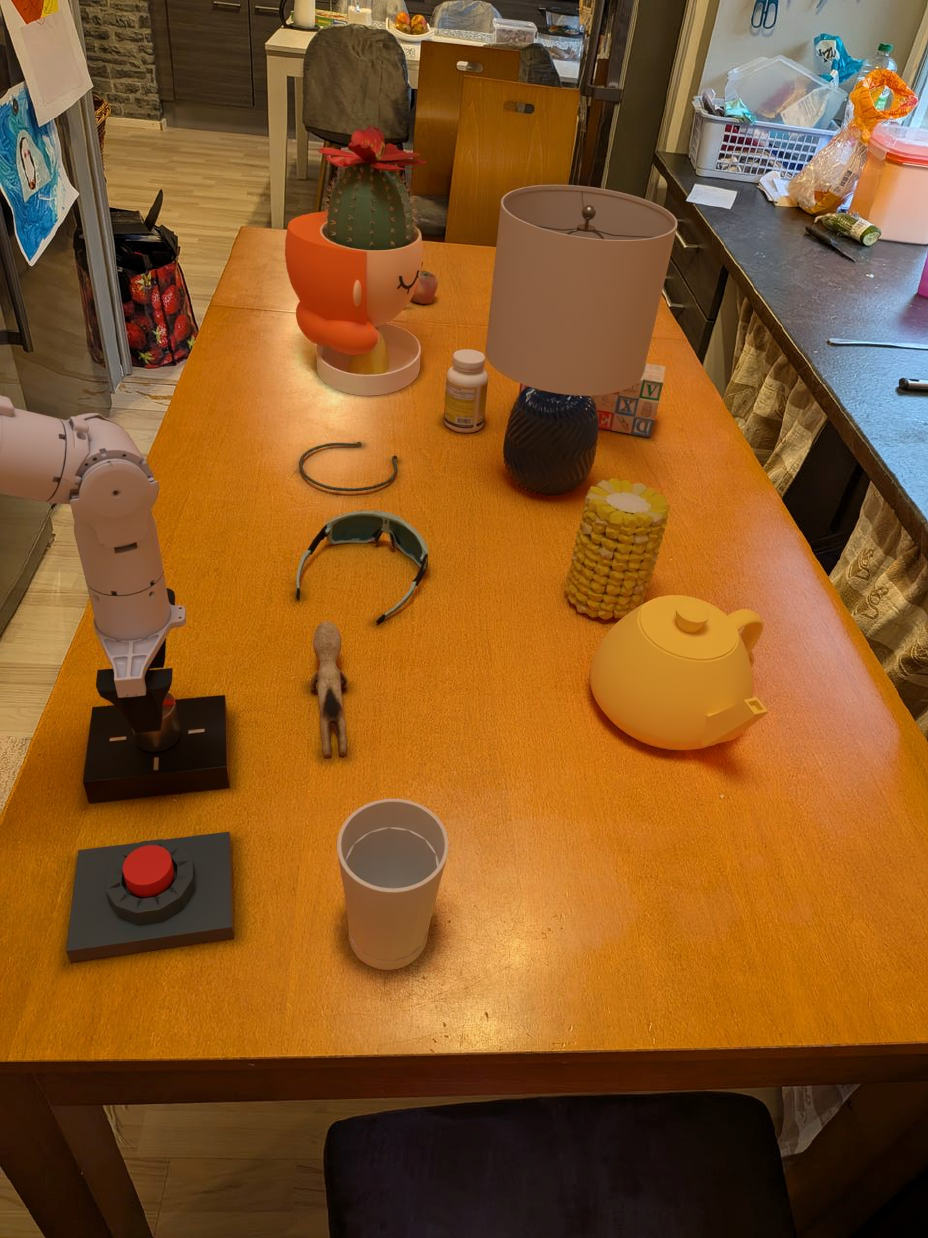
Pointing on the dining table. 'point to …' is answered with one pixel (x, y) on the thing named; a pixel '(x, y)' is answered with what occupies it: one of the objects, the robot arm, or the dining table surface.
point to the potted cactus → (359, 270)
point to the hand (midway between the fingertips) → (150, 696)
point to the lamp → (571, 318)
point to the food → (616, 548)
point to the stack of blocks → (631, 404)
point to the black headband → (344, 488)
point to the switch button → (148, 871)
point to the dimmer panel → (158, 754)
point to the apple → (426, 288)
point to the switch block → (151, 900)
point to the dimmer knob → (167, 733)
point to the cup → (391, 879)
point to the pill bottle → (466, 392)
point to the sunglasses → (370, 529)
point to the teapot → (679, 673)
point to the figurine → (329, 686)
